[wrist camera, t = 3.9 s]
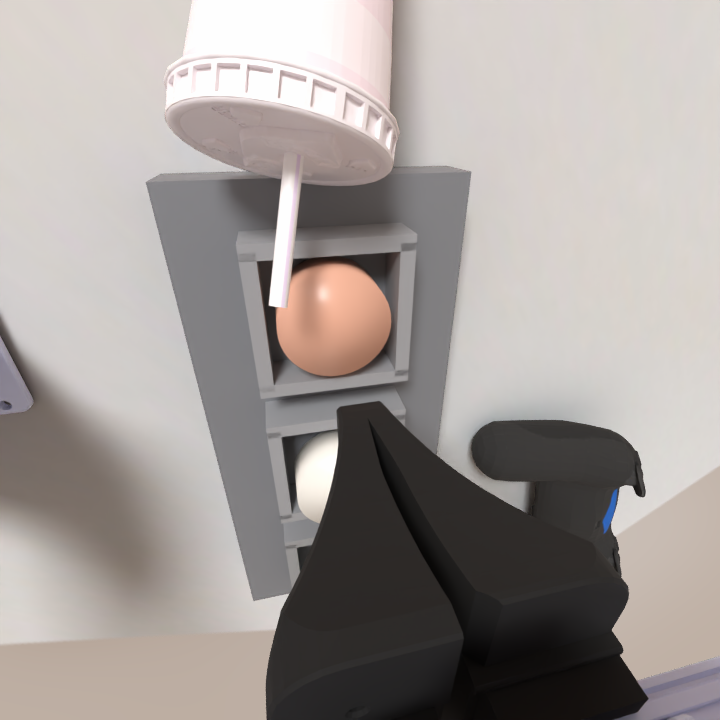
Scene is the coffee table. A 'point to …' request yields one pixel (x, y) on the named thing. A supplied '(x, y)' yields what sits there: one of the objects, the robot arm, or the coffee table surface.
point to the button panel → (260, 340)
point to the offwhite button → (316, 473)
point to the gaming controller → (564, 473)
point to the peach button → (332, 317)
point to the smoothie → (288, 98)
